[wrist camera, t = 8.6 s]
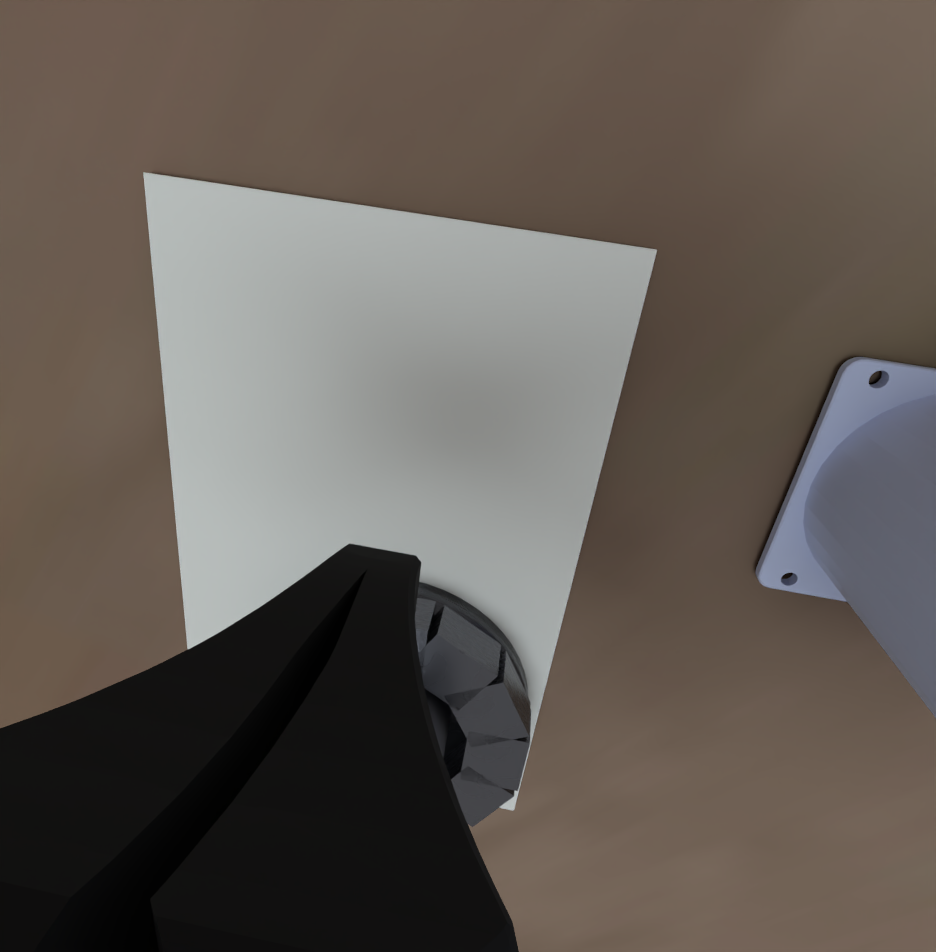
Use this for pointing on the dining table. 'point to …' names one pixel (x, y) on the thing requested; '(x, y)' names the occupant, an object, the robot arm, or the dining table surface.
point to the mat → (384, 398)
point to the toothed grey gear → (475, 699)
